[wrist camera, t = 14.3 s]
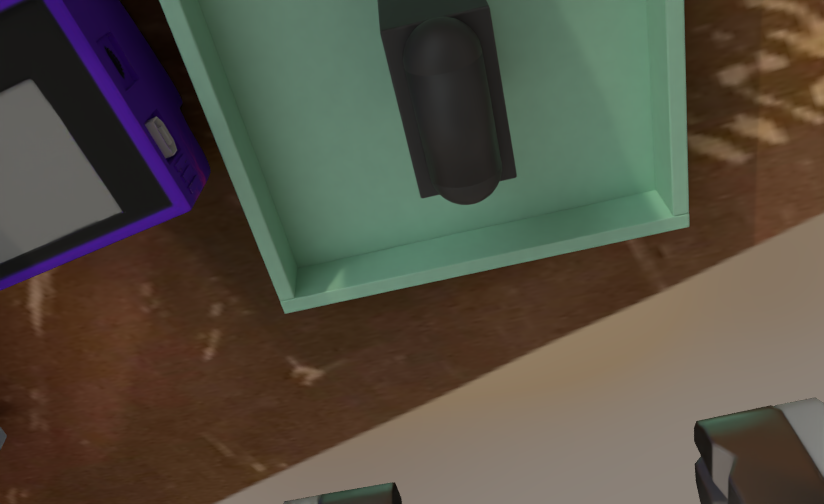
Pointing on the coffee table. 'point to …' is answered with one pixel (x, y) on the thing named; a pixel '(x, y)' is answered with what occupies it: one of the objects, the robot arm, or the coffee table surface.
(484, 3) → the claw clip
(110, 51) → the handheld gaming console
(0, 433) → the drawer
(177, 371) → the coffee table surface
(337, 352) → the coffee table surface
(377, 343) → the coffee table surface
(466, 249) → the tray
